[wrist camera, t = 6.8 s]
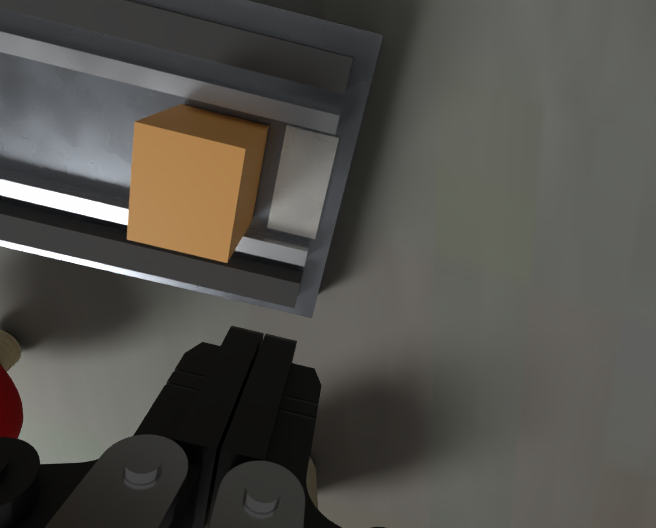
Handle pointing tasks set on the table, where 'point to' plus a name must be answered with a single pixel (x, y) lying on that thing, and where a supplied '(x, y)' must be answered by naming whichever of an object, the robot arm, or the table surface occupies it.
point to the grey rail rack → (199, 41)
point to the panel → (168, 91)
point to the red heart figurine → (9, 388)
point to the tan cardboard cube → (194, 180)
